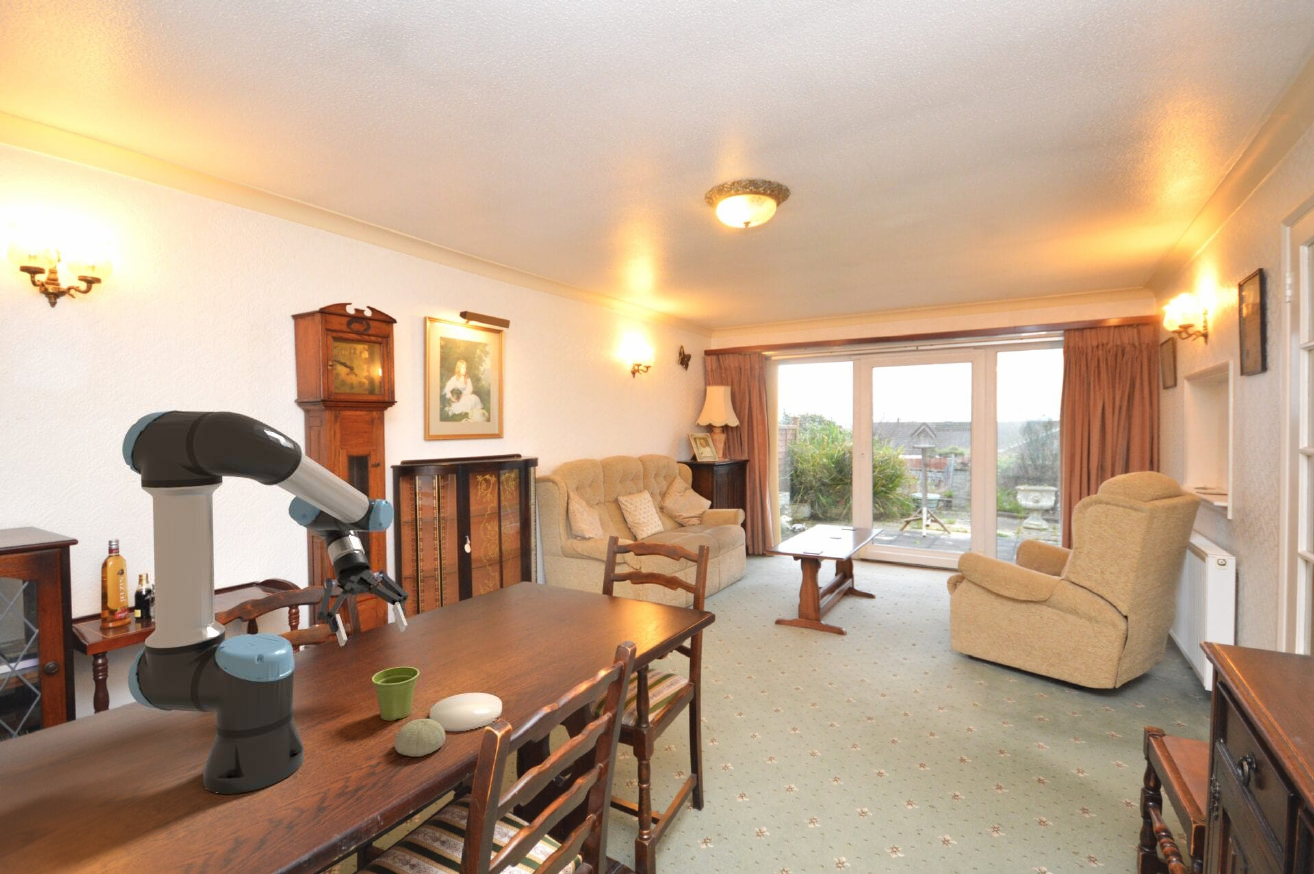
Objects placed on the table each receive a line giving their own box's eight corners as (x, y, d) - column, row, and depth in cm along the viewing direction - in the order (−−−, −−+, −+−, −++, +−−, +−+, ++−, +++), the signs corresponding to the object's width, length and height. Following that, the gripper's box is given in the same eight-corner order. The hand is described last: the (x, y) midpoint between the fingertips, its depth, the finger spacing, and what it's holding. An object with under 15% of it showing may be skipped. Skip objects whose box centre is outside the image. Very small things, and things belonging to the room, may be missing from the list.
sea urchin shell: (418, 756, 112) (399, 718, 115) (399, 777, 115) (381, 739, 118) (458, 735, 119) (439, 700, 122) (439, 755, 122) (421, 720, 125)
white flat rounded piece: (452, 739, 122) (452, 731, 122) (416, 715, 132) (416, 708, 132) (515, 713, 133) (515, 706, 133) (478, 693, 143) (478, 687, 143)
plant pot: (401, 727, 126) (402, 685, 126) (361, 722, 128) (362, 681, 128) (427, 707, 136) (427, 668, 135) (389, 703, 137) (390, 664, 137)
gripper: (394, 561, 160) (421, 631, 150) (288, 577, 141) (311, 658, 132) (403, 544, 156) (432, 614, 146) (296, 558, 138) (320, 640, 128)
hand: (375, 635), depth 139 cm, fingers open, 13 cm apart
